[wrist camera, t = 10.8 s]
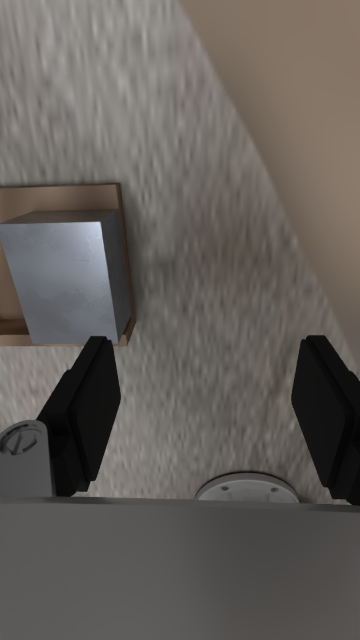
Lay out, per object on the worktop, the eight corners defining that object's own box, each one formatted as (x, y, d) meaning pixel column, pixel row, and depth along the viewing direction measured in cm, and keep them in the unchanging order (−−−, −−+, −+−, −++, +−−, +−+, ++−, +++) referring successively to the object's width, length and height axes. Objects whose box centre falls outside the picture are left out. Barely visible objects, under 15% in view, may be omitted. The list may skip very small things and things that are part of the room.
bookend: (118, 208, 21) (100, 221, 17) (131, 313, 25) (118, 343, 21) (33, 211, 21) (-5, 224, 18) (58, 313, 25) (32, 343, 21)
